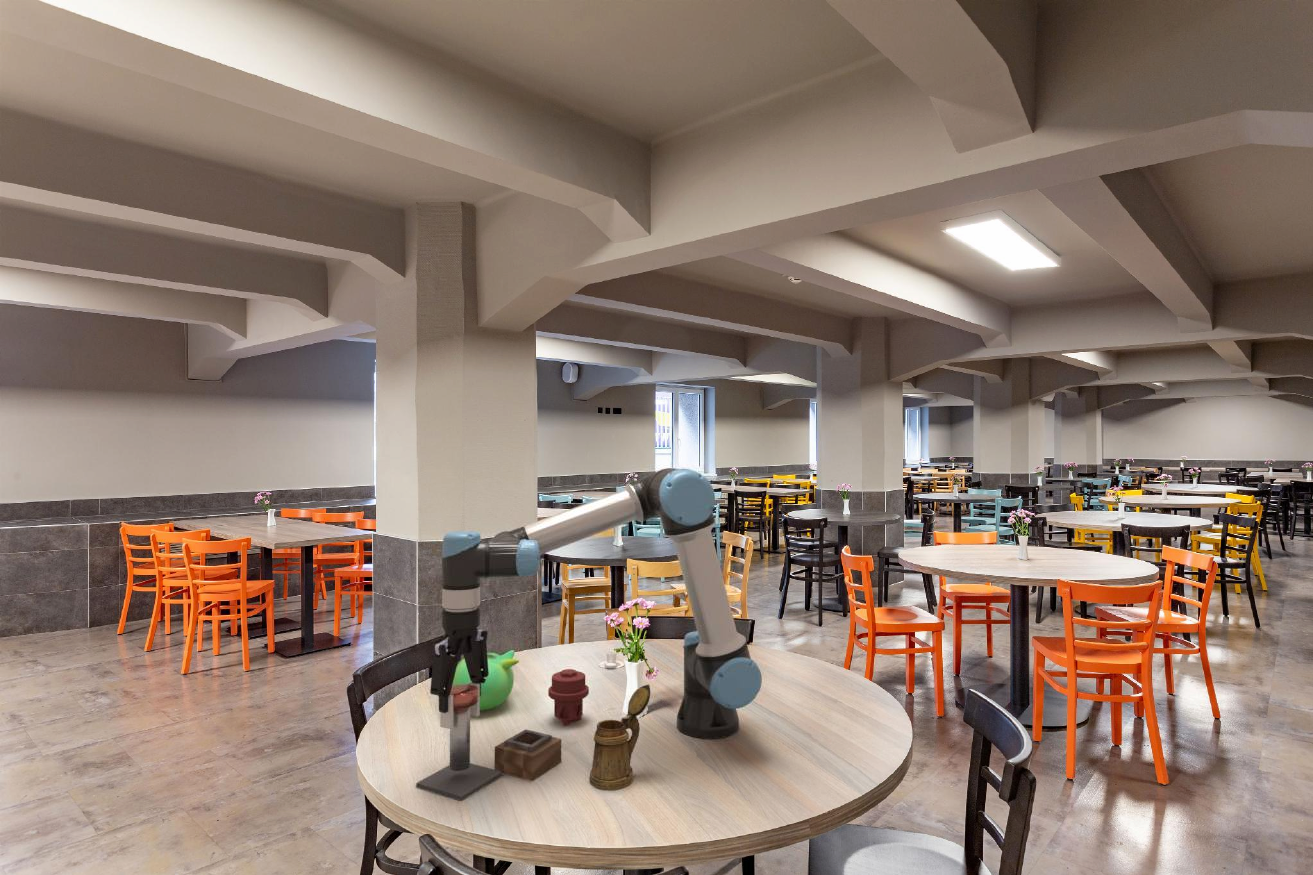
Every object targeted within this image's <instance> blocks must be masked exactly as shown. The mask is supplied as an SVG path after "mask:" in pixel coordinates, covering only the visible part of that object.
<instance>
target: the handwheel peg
mask: <svg viewBox="0 0 1313 875" xmlns="http://www.w3.org/2000/svg"><path fill="white" fill-rule="evenodd" d="M450 694H451V695H453V728H452V729H449V765H450V769H451V770H453V771H462V770H466V769H468V768H469V767H470V763H471V715H470V706H473V705H475V704H477V702H478V687H476V686H474V685H466V684H464V685H454V686H452V688H451V692H450Z"/></svg>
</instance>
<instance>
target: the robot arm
mask: <svg viewBox="0 0 1313 875" xmlns="http://www.w3.org/2000/svg"><path fill="white" fill-rule="evenodd" d="M715 494H716V493H715V491H714V487H713V486H712V484H711V482H710V481H709V479H707V477H705V476H704V475H703V474H701V473H699V472H698V471H696V470H692V469H689V468H675V467H674V468H671V467H668V468H663V469H660V470H658V471H655V472H653V473H650V474H648V475H646V476H643V477H641V478H640V479H637V480H635V481H632V482H630V483H626V485H625V487H624V489H623V490H620V491H617V492H615V493H612V494H608V495H606V496H604V497H601V498H597V499H595V500H592V501H589V502H587V503H583V504H581V505H579V506H575V507H573V508H570V509H568V510H564V511H562V512H559V513H557V514H553V515H550V516H548V517H545V518H542V519H540V520H537V521H534V522H532V523H529V524H525V525H524V526H521V527H517V528H514V529H512V530H510V531H509V530H504V531H500V532H498V533H496V534H495V535H494V536H493V537H492V539H491V540H490V541H488V540H482V537H481V533H479V532H478V531H474V530H473V531H471V530H462V531H461V530H459V531H450V532H448V533H446V534H445V535H444V536H443V539H442V540H443V541H442V555H441V568H442V569H441V573H442V574H441V576H442V577H441V580H442V582H441V583H442V584H441V587H442V588H441V589H442V590H441V593H442V594H441V596H442V597H441V602H442V603H441V605H442V606H441V607H442V608H443V609H442V611H441V627H442V629H443V630H444V636H443V639H442V641H440V642H439V643H437V642H436V643H433V644H432V645H431V649H432V654H433V657H432V658H433V659H432V670H431V679H430V689H429V690H430V692H429V693H430V694H431V695H432V696H433V695H434V696H437V697H438V712H439V713H440V714H439V715H440V716H439V718H440V719H439V720H440V723H439V724H440V728H444V729H447V730H450V729H452V728H453V695H451V694H450V692H451V688H452V684H453V680H454V676H455V672H456V668H457V666H458V664H459V662H461V661H462V660H461V659H462V656H463V659H465V663H466V666H467V670H468V673H469V677H470V680H471V681H472V682H469V683H467V685H474V686H476V687H478V702H477V704H475V705H473V706H470V716H474V717H479V716H480V711H481V710H480V696H481V683H485V681H486V679H485V678H484V677H488V675H489V672H488V658H487V652H488V646H487V639H488V635H489V633H488V631H487V630H484V629H483V630H482V629H478V627H479V626H480V624H481V617H480V616H481V609H480V608H479V606H480V605H481V579H483V578H484V579H488V578H509V577H510V578H514V577H515V578H516V577H520V578H524V577H528V576H535V575H537V574H538V573H539V569H540V556H541V555H544V554H547V553H549V552H552V551H555V550H558V549H560V548H562V547H566V546H568V545H571V544H574V543H577V542H579V541H582V540H584V539H587V538H590V537H592V536H595V535H598V534H600V533H604V532H606V531H608V530H609V531H610V530H611V529H614V528H617V527H619V526H622V525H625V524H627V523H630V522H633V521H638V522H640V523H642V522H646V521H648V520H652V519H655V518H660V522H661V524H662V528H663V533H664V536H665V537H667V538H668V539H670V540H672V541H673V543H674V549H675V552H676V555H677V558H678V563H679V567H680V571H681V574H682V577H683V581H684V587H685V589H686V593H687V596H688V597H687V598H688V600H689V604H690V608H691V612H692V616H693V620H694V624H695V628H696V630H695V631H691V632H688V633H686V634H685V636H684V641H683V642H684V643H683V646H682V648H683V696H682V700H681V702H680V705H679V709H678V712H677V715H676V728H677V729H678V731H680V732H681V733H682V734H684V735H687V736H690V737H693V738H699V739H721V738H726V737H729V736H732V735H734V734H735V733H737V732H738V731H739V729H740V719H739V715H738V714H739V713H738V711H737V709H741V708H745V707H746V706H748V705H749V704H751V703H752V702H753V701H754V700H755V699H756V698H757V695H758V694H759V692H760V691H761V688H762V683H763V682H762V681H763V677H762V676H763V675H762V672H761V668H759V666H758V664H757V662H755V661H754V660H753V659H752V658H751V655H750V651H749V650H750V649H749V647H748V646H749V645H748V643H747V638H746V637H745V635H743V634H741V633H739V632H738V631H737V627H736V624H735V619H734V616H733V612H732V608H731V605H730V601H729V596H728V592H727V589H726V585H725V581H724V577H723V574H722V569H721V567H720V560H719V558H718V554H717V550H716V546H715V543H714V540H713V539H714V538H713V534H712V530H713V528H714V526H715V525H716V520H715V515H714V512H713V510H714V508H715V504H716V495H715ZM481 669H483V670H481Z"/></svg>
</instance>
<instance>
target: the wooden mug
mask: <svg viewBox="0 0 1313 875" xmlns="http://www.w3.org/2000/svg"><path fill="white" fill-rule="evenodd" d="M650 687H651V686H650V684H644V685H642V686H640V687H639V688H637V689H636V690H635V691H634V692H633V693H632V695H631V697H630V699H629V700H628V705H627V714H626V716H624V717H622V718H621V721H620V720H616V719H605V720H602V721H599V722H597V724H596V730H595V732H594V735H593V741H594V742H595V743H594V748H593V749H594V750H593V756H592V757H593V758H592V765H591V769H590V772H589V777H588V779H589V780H588V781H589V783H590V784H591V786H593V787H595V788H598V789H601V790H607V791H608V790H611V791H612V790H619V789H623V788H625V787H627V786H628V785H631V783H632V782H633V780H634V771H633V767H632V765H631V762H632V761H631V760H632V755H633V751H634V749H635V746H636V744H637V741H638V739H639V735H640V722H639V719H638V717H639V716H640V715H641V714H643V712H644V711H645V709H646V708H647V707H648V705H649V702H650V700H651V699H650V697H651V688H650ZM628 729H629V730H631V736H630V735H629V732H628ZM629 736H630V738H629Z"/></svg>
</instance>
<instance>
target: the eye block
mask: <svg viewBox="0 0 1313 875" xmlns="http://www.w3.org/2000/svg"><path fill="white" fill-rule="evenodd" d="M561 763H562V738H559V737H555V736H552V734H548V733H542V732H538V731H535V730H530V729H524V730H522V731H520V732H519V733H517V734H515V735H513V736H511V737H509V738H507V739H506V740H504V741H503V742H501V743H498V744H497V745H496V746H494V766H493V767H494V770H498V771H501V772H503V774H505V775H509V776H512V777H516V778H520V779H523V780H527V781H531V782H533V781H535V780H537V779H538V778H540V777H542V775H545V774H546V773H548V772H549V771H551V769H553V768H555V767H556V766H558V765H559V764H561Z"/></svg>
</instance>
